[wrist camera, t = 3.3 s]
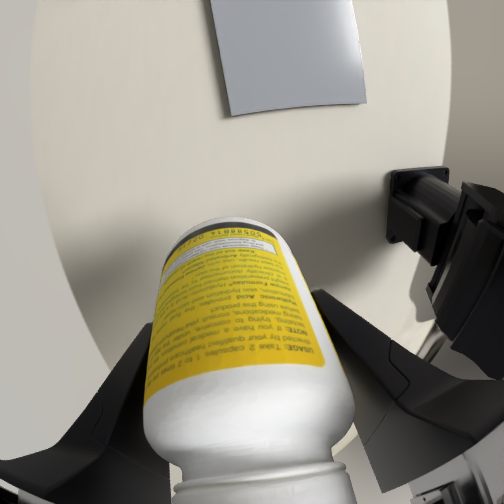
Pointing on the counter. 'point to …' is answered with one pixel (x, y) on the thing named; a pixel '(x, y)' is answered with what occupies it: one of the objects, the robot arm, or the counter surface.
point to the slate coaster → (288, 53)
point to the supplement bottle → (244, 373)
